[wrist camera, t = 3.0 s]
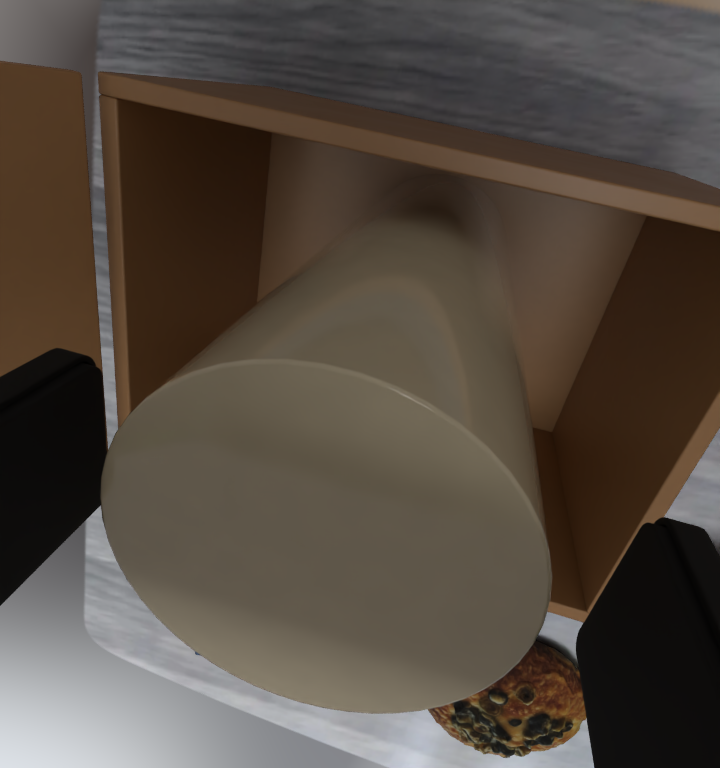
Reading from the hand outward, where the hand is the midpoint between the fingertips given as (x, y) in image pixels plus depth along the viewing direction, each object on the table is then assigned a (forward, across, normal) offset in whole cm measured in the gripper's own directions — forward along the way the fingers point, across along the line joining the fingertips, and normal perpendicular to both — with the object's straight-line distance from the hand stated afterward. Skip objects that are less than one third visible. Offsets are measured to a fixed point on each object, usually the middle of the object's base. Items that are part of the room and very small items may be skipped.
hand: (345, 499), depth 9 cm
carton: (+18, 0, +1) cm, 18 cm away
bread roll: (+18, -12, +27) cm, 35 cm away
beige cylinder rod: (+17, 0, 0) cm, 17 cm away
